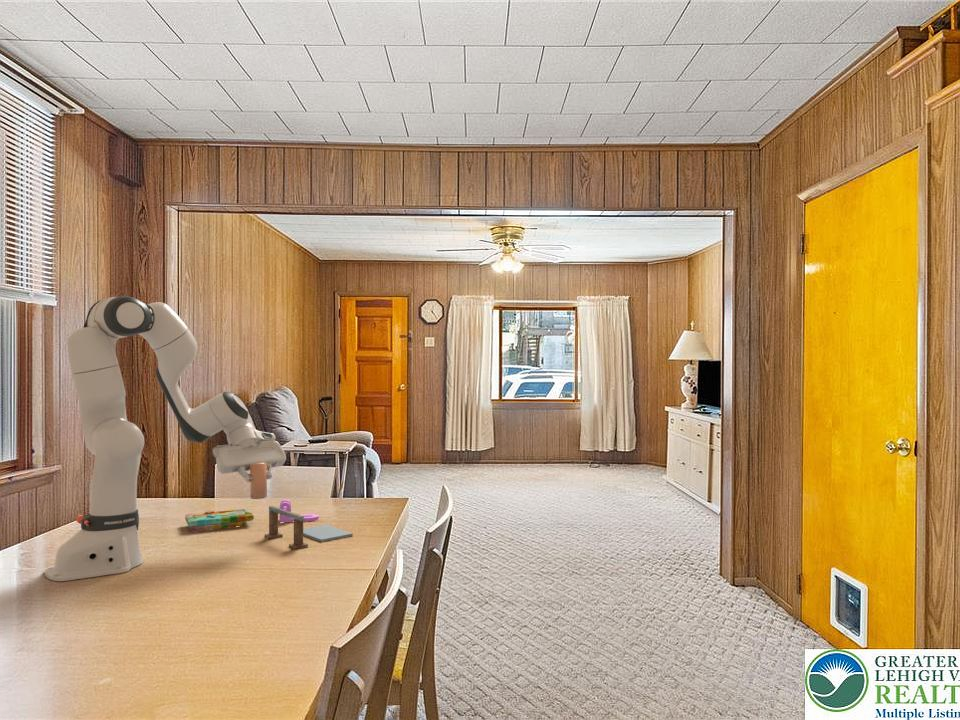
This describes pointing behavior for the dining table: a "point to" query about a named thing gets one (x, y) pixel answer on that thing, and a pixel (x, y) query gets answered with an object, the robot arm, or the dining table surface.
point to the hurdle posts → (297, 531)
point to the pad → (325, 533)
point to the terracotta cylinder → (258, 480)
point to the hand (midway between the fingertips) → (259, 479)
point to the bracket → (287, 503)
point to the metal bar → (286, 513)
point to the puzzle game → (218, 519)
